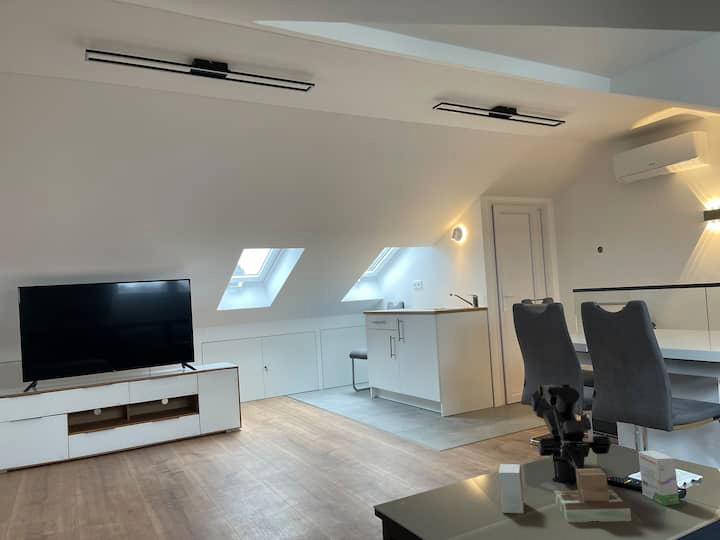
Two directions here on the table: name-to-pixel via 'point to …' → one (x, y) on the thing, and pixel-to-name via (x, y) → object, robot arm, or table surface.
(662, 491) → the ink box
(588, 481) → the walnut block
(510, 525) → the table surface
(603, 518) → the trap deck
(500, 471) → the small box
